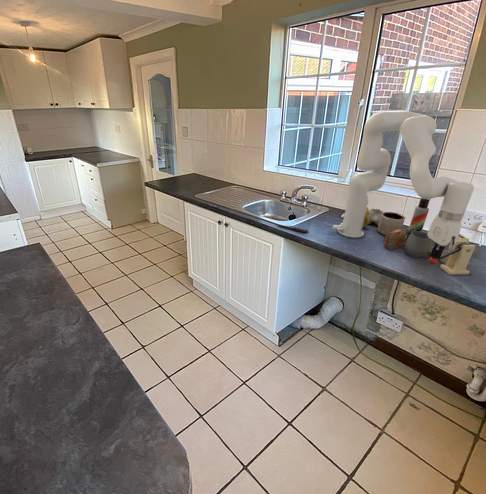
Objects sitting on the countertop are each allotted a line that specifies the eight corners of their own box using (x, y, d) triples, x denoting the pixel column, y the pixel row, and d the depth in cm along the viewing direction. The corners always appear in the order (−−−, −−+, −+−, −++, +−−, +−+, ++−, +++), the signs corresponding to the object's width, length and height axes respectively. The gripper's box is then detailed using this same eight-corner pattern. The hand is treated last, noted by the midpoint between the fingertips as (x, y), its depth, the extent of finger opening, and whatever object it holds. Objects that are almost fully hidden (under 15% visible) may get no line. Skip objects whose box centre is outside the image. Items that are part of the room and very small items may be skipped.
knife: (277, 224, 170) (275, 226, 168) (278, 223, 170) (275, 224, 168) (307, 231, 162) (305, 233, 160) (308, 230, 162) (306, 232, 159)
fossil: (374, 207, 184) (394, 201, 169) (380, 224, 183) (400, 220, 169) (350, 215, 180) (368, 210, 165) (356, 233, 179) (375, 229, 165)
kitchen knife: (350, 209, 191) (347, 209, 192) (351, 208, 191) (347, 207, 192) (342, 218, 178) (339, 217, 179) (343, 217, 178) (339, 216, 179)
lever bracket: (449, 274, 124) (461, 246, 119) (439, 266, 130) (450, 239, 124) (469, 274, 125) (481, 246, 119) (458, 266, 130) (469, 239, 124)
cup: (411, 260, 135) (418, 239, 130) (398, 250, 143) (404, 230, 139) (431, 258, 136) (439, 238, 131) (416, 249, 144) (423, 229, 140)
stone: (371, 222, 168) (369, 229, 161) (351, 224, 174) (348, 231, 166) (368, 200, 164) (367, 206, 156) (348, 202, 170) (345, 209, 162)
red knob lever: (432, 267, 124) (431, 261, 123) (427, 263, 127) (425, 257, 126) (471, 250, 121) (469, 244, 120) (465, 246, 124) (463, 240, 123)
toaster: (445, 264, 132) (455, 239, 126) (427, 251, 142) (435, 227, 137) (459, 264, 132) (469, 239, 126) (439, 251, 142) (448, 227, 137)
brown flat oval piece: (386, 251, 142) (391, 235, 138) (380, 248, 145) (384, 232, 141) (406, 244, 148) (411, 228, 145) (400, 242, 151) (405, 226, 147)
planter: (395, 229, 165) (400, 212, 161) (403, 237, 155) (409, 220, 151) (374, 227, 166) (378, 211, 162) (381, 236, 157) (385, 218, 152)
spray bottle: (405, 235, 157) (417, 198, 148) (408, 232, 161) (420, 195, 152) (418, 238, 154) (431, 201, 145) (420, 235, 158) (433, 198, 149)
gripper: (427, 208, 122) (414, 248, 131) (455, 222, 109) (438, 266, 117) (446, 208, 122) (431, 248, 131) (475, 222, 109) (457, 266, 117)
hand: (434, 257), depth 124 cm, fingers closed
